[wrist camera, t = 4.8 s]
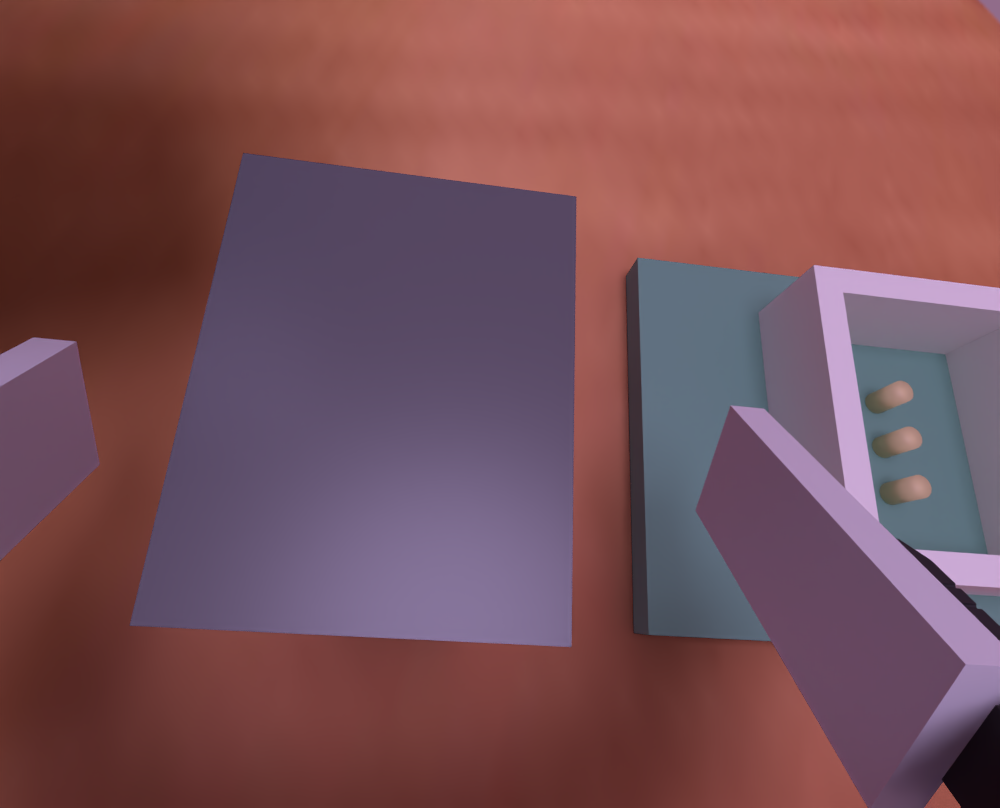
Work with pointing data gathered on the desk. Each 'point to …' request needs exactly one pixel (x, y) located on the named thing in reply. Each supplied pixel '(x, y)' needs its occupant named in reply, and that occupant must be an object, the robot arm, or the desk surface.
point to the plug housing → (376, 415)
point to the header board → (810, 418)
